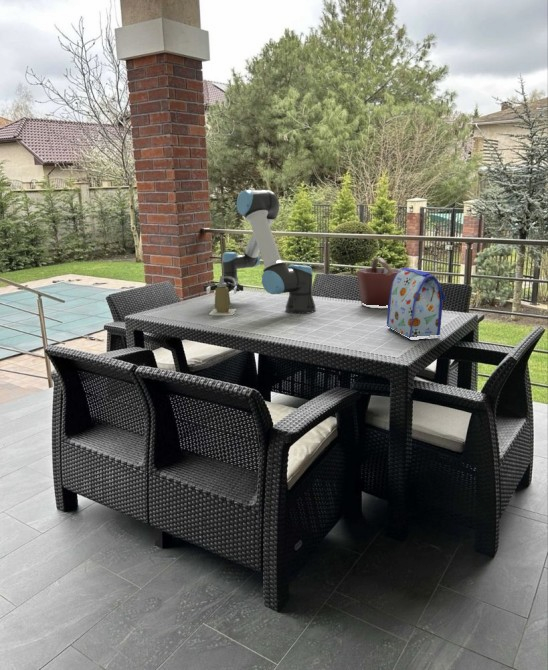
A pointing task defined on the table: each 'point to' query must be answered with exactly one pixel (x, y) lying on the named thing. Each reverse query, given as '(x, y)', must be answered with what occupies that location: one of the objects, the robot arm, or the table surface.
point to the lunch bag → (415, 304)
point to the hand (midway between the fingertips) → (220, 291)
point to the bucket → (376, 283)
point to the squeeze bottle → (222, 296)
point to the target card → (214, 312)
